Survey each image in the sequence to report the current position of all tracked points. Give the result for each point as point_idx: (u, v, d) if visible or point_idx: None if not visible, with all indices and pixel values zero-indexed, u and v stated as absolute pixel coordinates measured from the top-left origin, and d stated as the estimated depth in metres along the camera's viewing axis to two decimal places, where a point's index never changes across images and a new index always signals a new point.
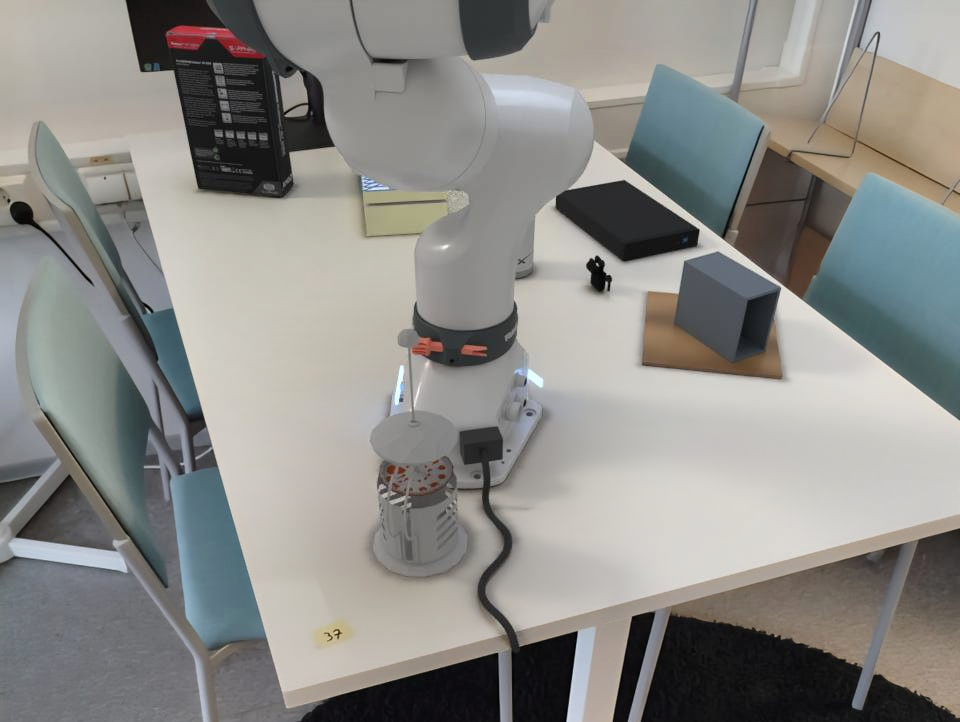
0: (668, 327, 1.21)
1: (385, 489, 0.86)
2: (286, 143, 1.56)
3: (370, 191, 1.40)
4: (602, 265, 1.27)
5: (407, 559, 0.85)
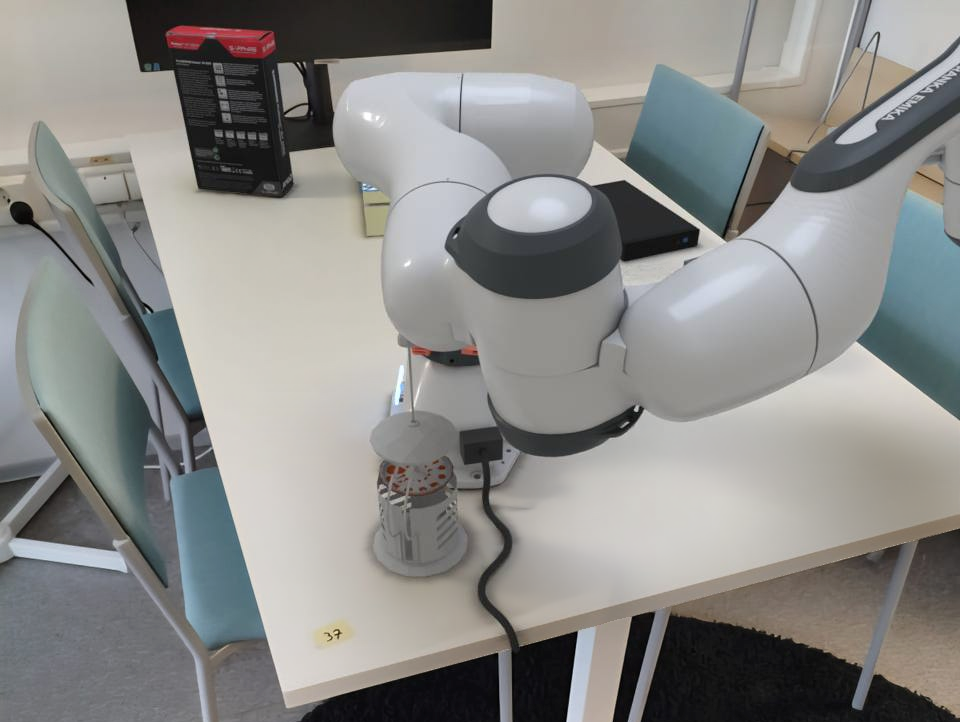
0: None
1: (385, 489, 0.86)
2: (286, 143, 1.56)
3: (370, 191, 1.40)
4: None
5: (407, 559, 0.85)
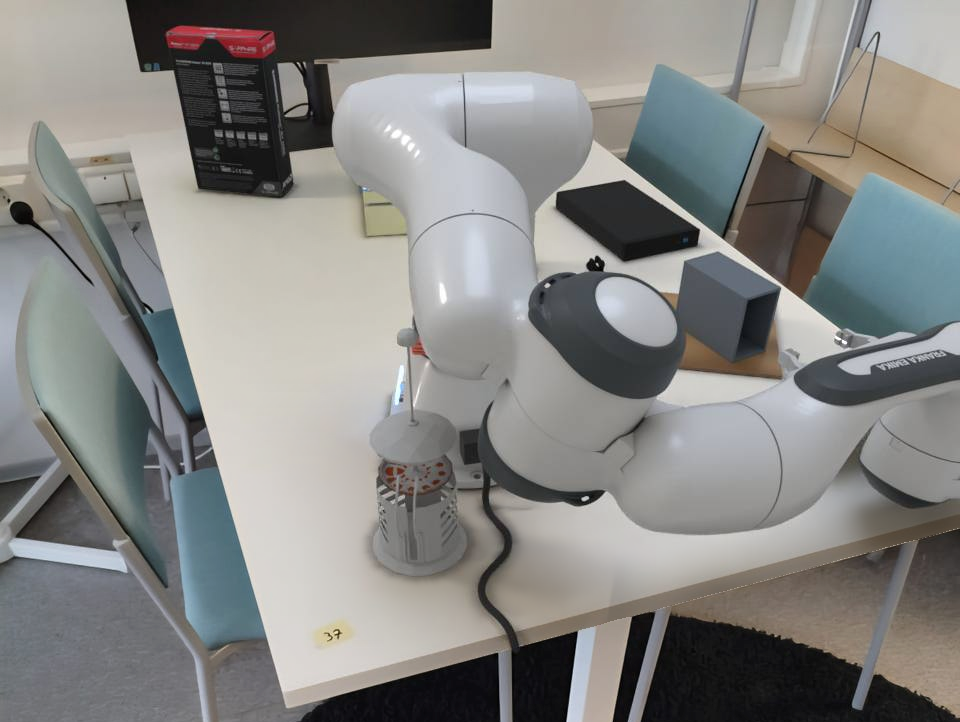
0: None
1: (382, 492, 0.86)
2: (286, 143, 1.56)
3: (370, 191, 1.40)
4: (602, 265, 1.27)
5: (411, 559, 0.85)
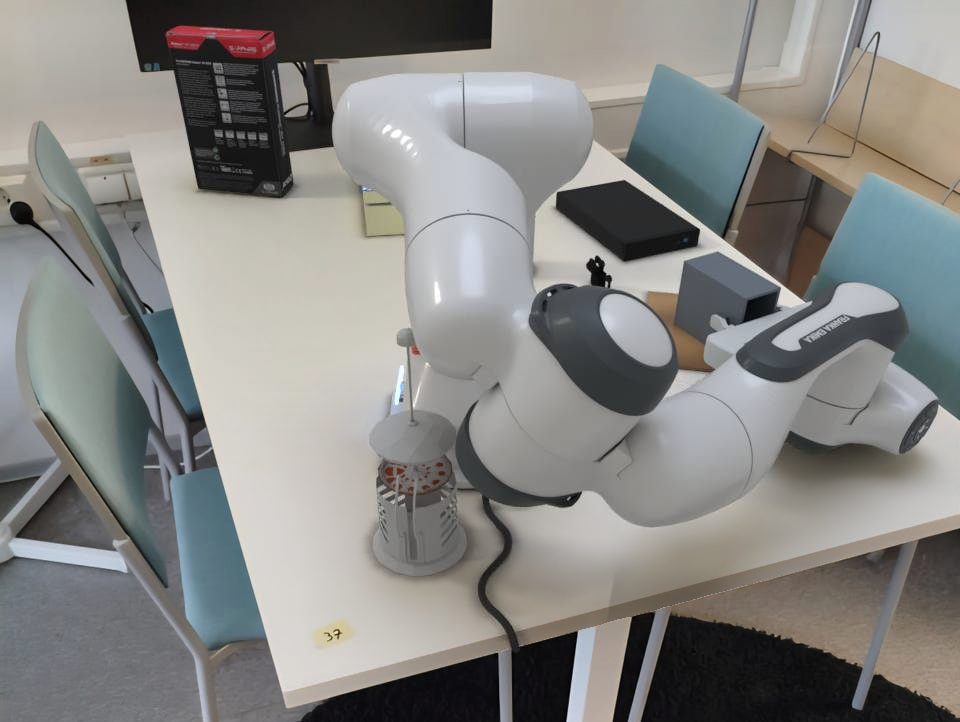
0: (668, 327, 1.21)
1: (382, 492, 0.86)
2: (286, 143, 1.56)
3: (370, 191, 1.40)
4: (602, 265, 1.27)
5: (411, 559, 0.85)
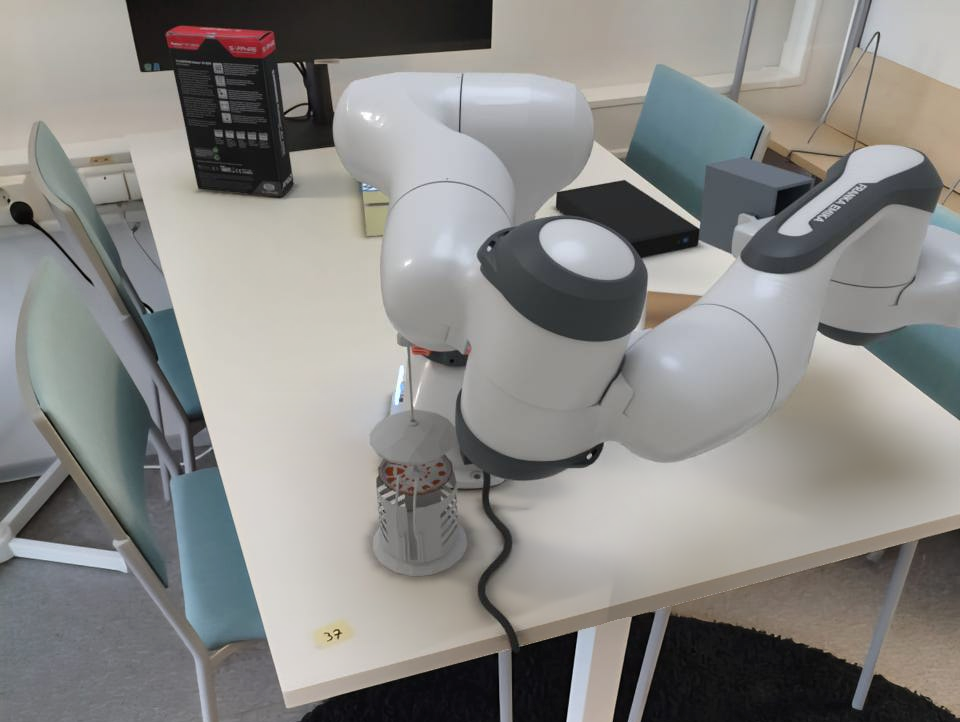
0: None
1: (382, 492, 0.86)
2: (286, 143, 1.56)
3: (370, 191, 1.40)
4: None
5: (411, 559, 0.85)
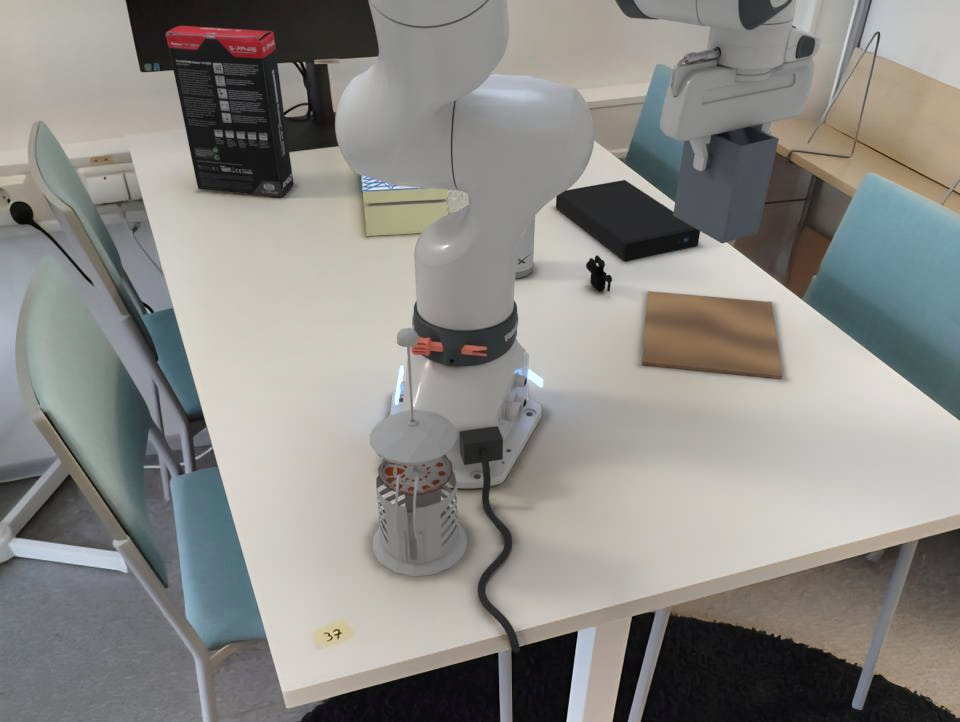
0: (668, 327, 1.21)
1: (382, 492, 0.86)
2: (286, 143, 1.56)
3: (370, 191, 1.40)
4: (602, 265, 1.27)
5: (411, 559, 0.85)
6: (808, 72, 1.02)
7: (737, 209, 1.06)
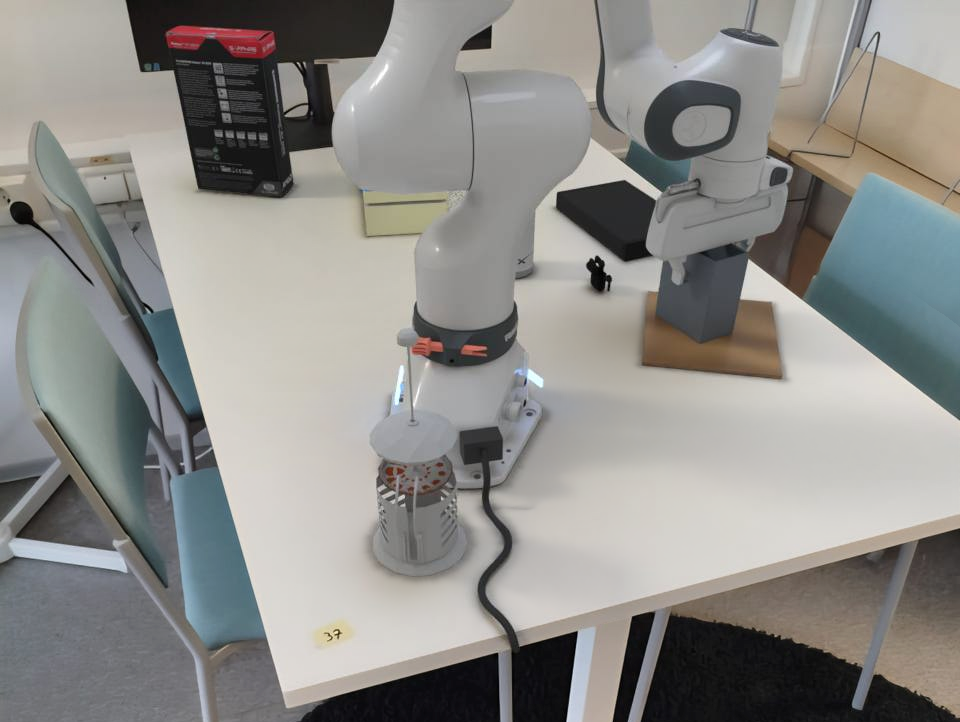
0: (668, 327, 1.21)
1: (382, 492, 0.86)
2: (286, 143, 1.56)
3: (370, 191, 1.40)
4: (602, 265, 1.27)
5: (411, 559, 0.85)
6: (782, 195, 1.11)
7: (713, 314, 1.16)
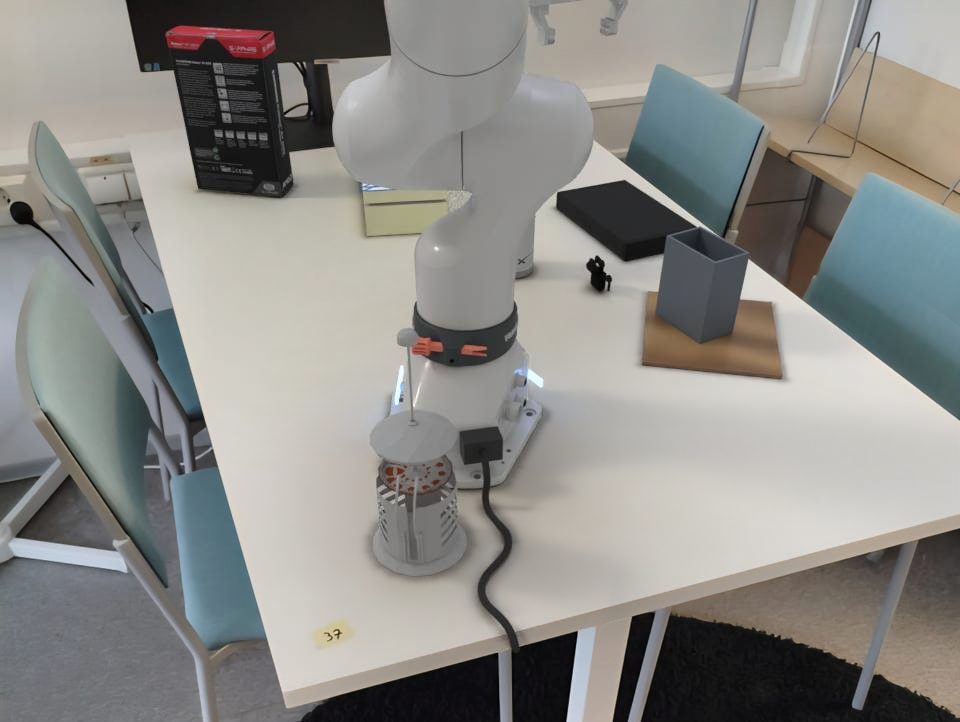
0: (668, 327, 1.21)
1: (382, 492, 0.86)
2: (286, 143, 1.56)
3: (370, 191, 1.40)
4: (602, 265, 1.27)
5: (411, 559, 0.85)
6: None
7: (713, 314, 1.16)
